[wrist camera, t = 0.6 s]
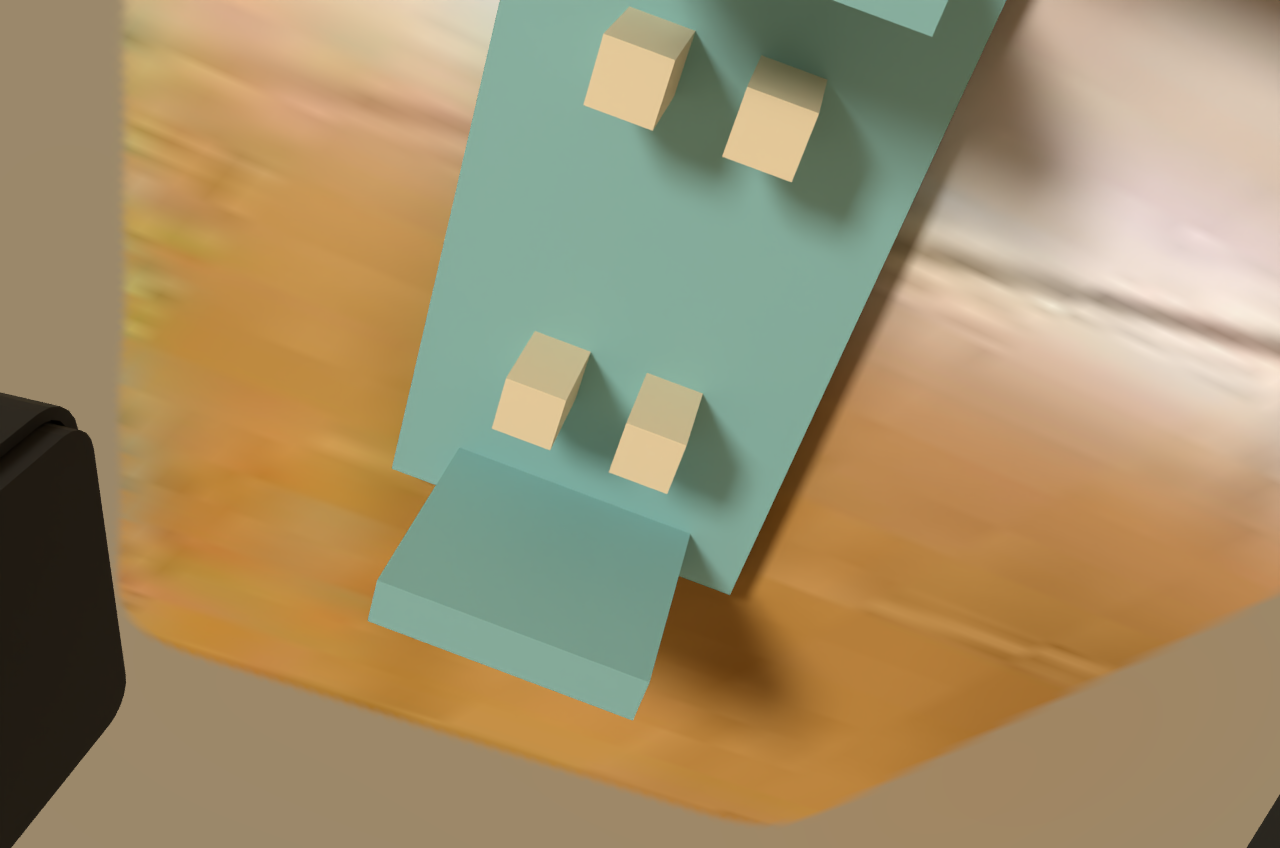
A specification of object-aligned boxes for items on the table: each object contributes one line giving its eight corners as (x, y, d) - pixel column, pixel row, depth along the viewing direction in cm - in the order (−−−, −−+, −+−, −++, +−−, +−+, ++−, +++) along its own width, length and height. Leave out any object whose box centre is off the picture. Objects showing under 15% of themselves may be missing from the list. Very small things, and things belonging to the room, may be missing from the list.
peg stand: (570, -258, 29) (462, -246, 22) (1039, -86, 29) (1076, -20, 22) (402, 452, 41) (300, 601, 34) (733, 576, 41) (696, 749, 34)
